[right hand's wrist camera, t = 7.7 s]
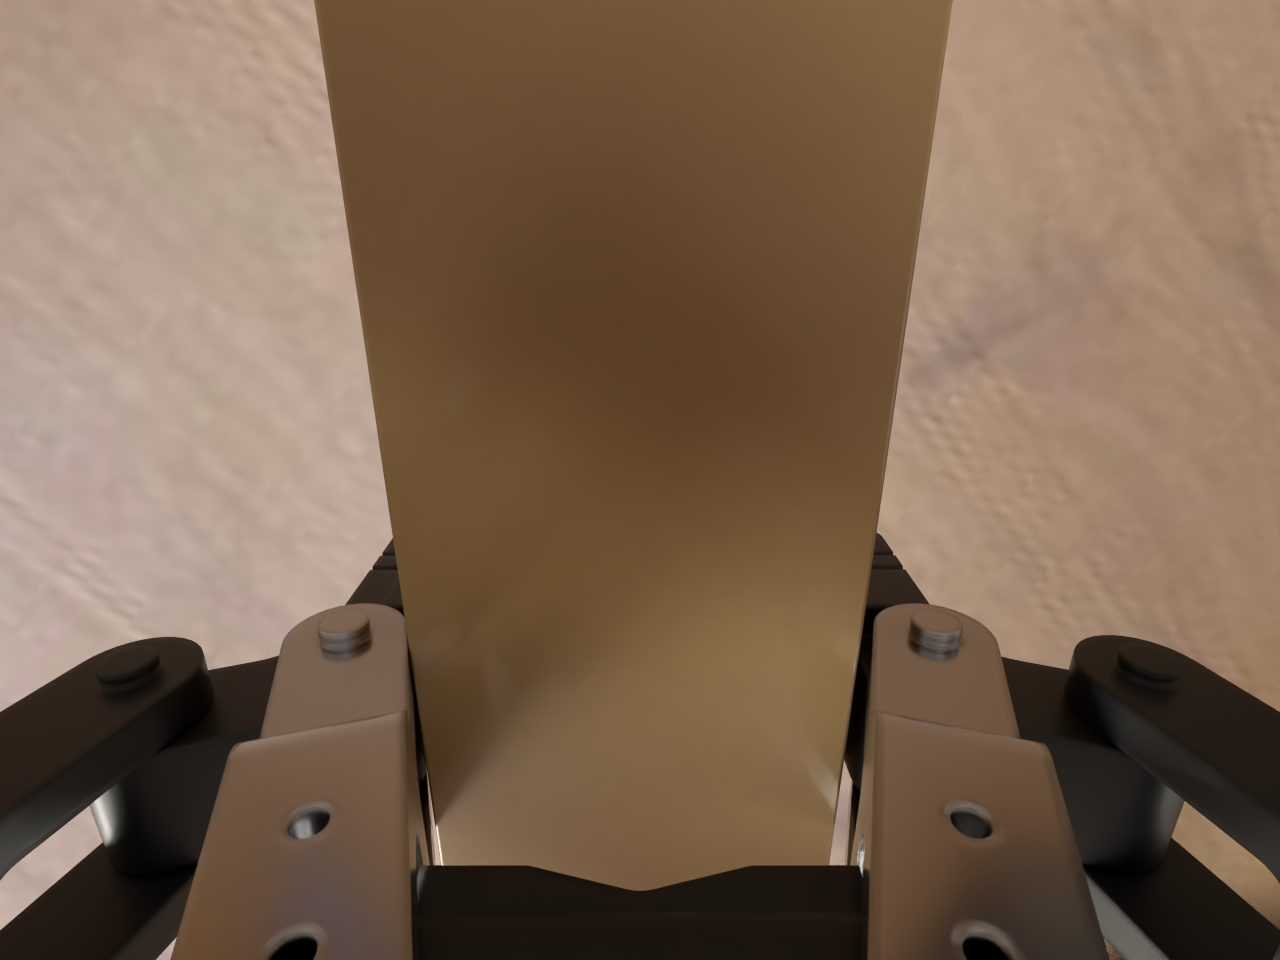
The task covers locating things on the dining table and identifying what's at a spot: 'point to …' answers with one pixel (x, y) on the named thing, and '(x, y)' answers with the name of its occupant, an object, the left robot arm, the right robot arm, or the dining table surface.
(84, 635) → the dining table surface
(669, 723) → the bar
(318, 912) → the right robot arm
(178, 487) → the dining table surface
